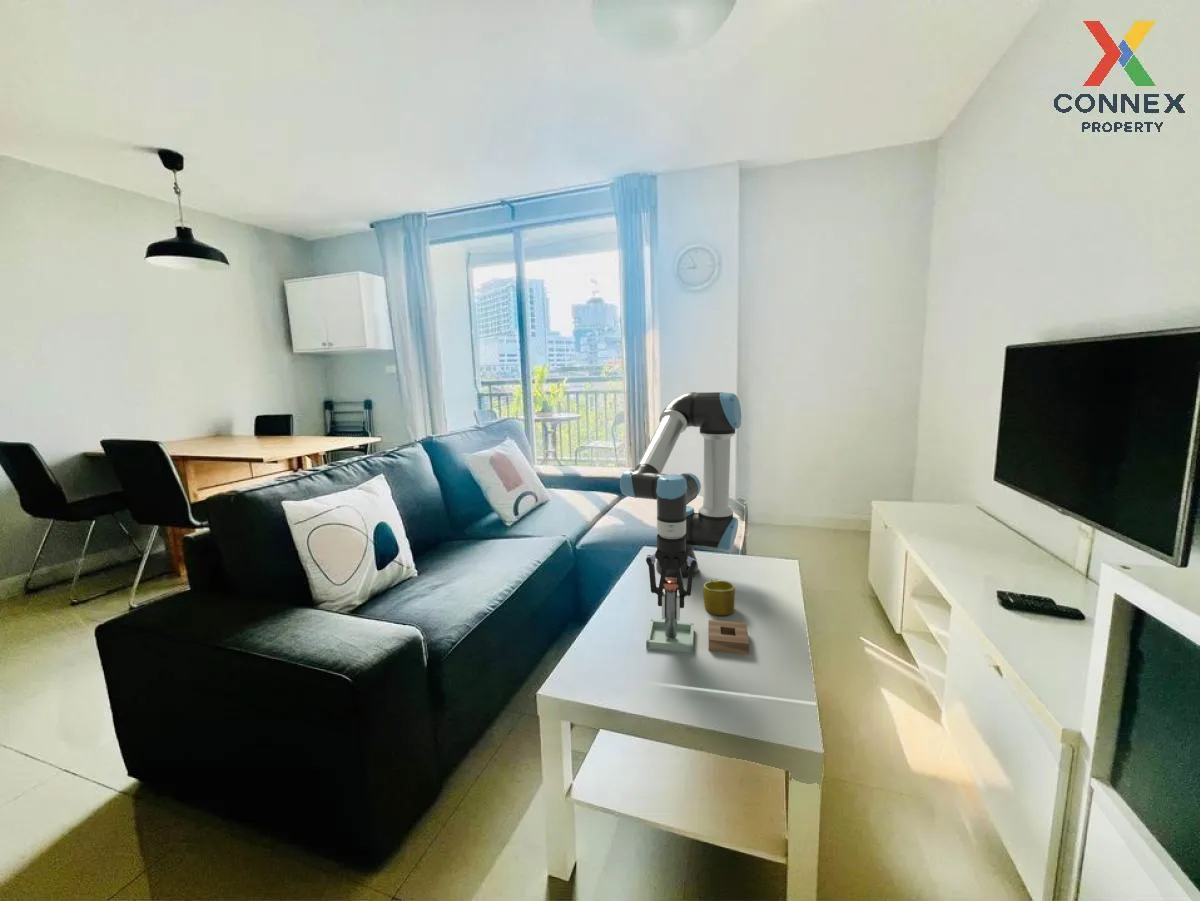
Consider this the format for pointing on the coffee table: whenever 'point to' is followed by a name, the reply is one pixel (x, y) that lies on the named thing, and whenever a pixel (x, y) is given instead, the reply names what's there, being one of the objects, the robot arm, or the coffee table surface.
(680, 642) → the tray
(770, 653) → the coffee table surface
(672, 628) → the pin
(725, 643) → the socket block
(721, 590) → the mug
